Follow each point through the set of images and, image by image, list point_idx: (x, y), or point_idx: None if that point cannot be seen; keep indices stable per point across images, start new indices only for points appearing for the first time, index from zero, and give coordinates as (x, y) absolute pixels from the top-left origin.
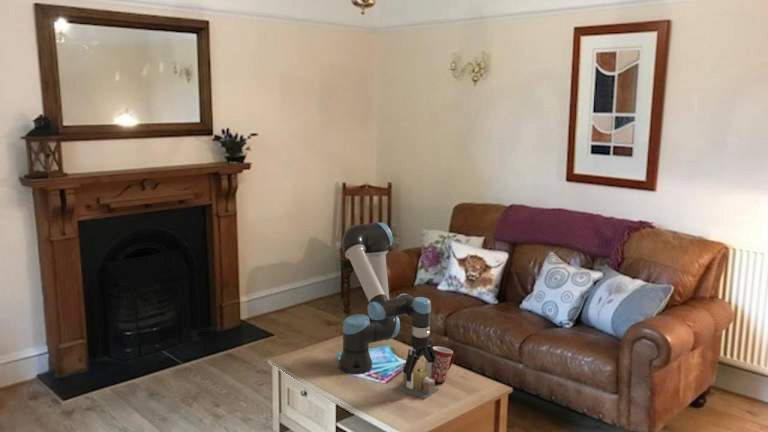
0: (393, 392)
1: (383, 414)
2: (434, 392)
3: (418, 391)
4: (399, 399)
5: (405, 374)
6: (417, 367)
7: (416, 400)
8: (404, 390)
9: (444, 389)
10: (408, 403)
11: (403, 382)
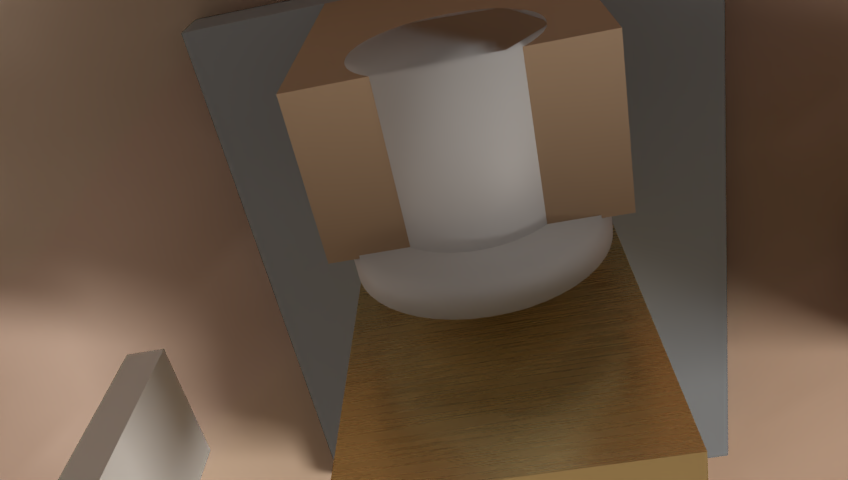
0: (23, 34)
1: None
2: None
3: None
4: (2, 281)
5: (314, 147)
6: (661, 468)
7: (230, 435)
8: (232, 153)
9: (811, 456)
10: (73, 427)
11: (317, 25)
